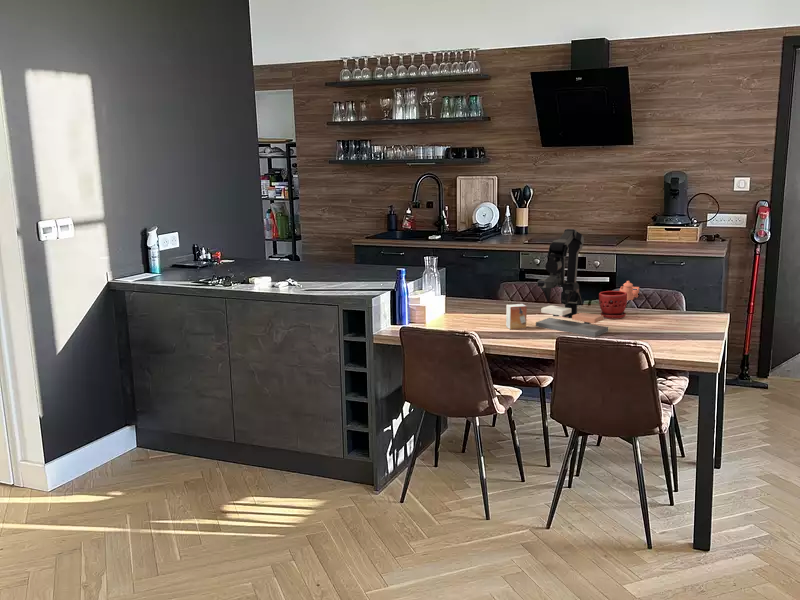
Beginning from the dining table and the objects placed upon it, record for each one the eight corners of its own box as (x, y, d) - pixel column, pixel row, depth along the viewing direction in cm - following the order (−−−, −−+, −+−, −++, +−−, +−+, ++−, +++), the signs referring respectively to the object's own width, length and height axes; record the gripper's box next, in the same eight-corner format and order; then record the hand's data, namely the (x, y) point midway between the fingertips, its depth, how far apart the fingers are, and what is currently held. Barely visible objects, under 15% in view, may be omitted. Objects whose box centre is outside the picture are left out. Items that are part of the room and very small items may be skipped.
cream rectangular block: (550, 312, 367) (550, 305, 367) (571, 315, 360) (571, 308, 359) (541, 315, 362) (541, 308, 361) (562, 319, 354) (562, 311, 354)
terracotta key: (581, 319, 357) (581, 312, 356) (603, 323, 350) (603, 315, 349) (571, 323, 351) (572, 315, 351) (594, 326, 344) (594, 318, 343)
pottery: (621, 293, 434) (621, 276, 432) (638, 294, 431) (639, 276, 429) (617, 299, 418) (618, 281, 416) (636, 300, 415) (636, 282, 413)
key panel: (549, 321, 371) (549, 317, 370) (608, 331, 351) (608, 327, 351) (535, 326, 362) (535, 322, 362) (594, 336, 342) (595, 332, 342)
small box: (509, 329, 358) (510, 306, 355) (505, 326, 363) (506, 304, 361) (526, 328, 359) (527, 305, 357) (522, 325, 364) (522, 303, 362)
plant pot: (622, 313, 385) (623, 289, 382) (629, 320, 372) (630, 295, 369) (595, 314, 385) (596, 290, 383) (601, 320, 372) (602, 295, 370)
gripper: (530, 269, 356) (530, 303, 360) (567, 274, 344) (566, 308, 347) (543, 266, 364) (543, 299, 368) (580, 270, 352) (579, 304, 356)
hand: (557, 303), depth 359 cm, fingers open, 9 cm apart
